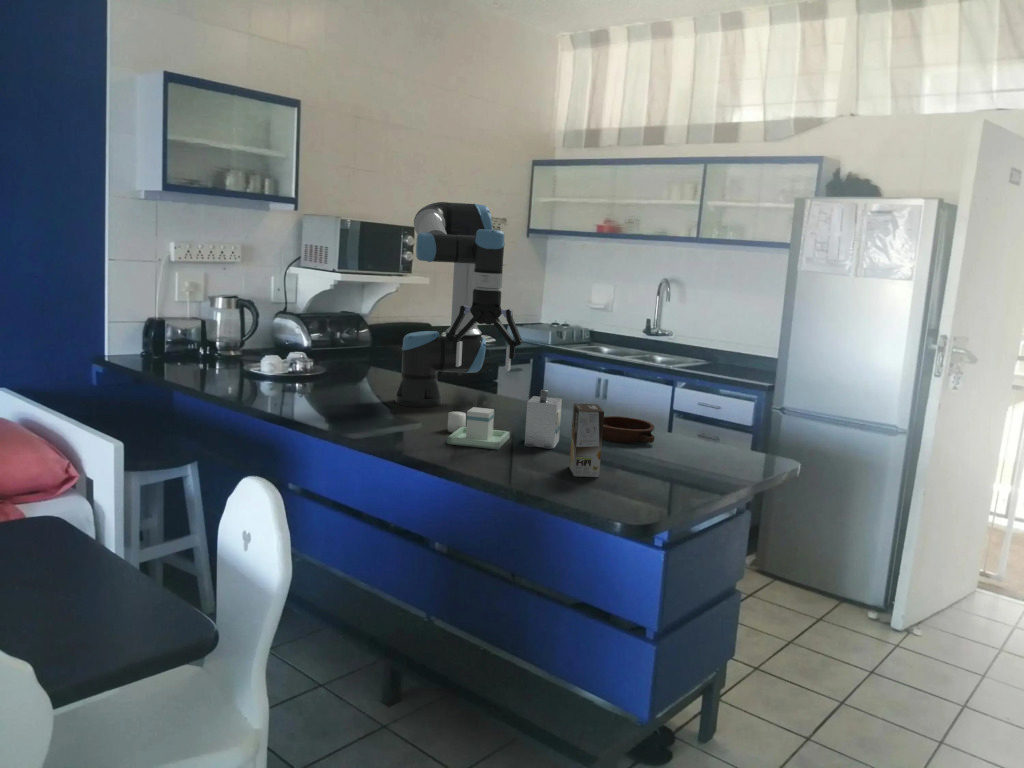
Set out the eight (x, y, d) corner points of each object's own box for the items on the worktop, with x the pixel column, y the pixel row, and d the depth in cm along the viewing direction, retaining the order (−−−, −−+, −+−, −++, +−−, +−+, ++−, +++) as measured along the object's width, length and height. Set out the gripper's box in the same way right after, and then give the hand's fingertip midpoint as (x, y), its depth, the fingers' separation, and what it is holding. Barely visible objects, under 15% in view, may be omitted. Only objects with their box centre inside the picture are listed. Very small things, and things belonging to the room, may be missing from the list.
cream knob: (445, 431, 234) (446, 414, 233) (450, 427, 239) (451, 410, 238) (462, 433, 233) (463, 416, 232) (467, 429, 238) (468, 412, 237)
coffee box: (600, 477, 197) (605, 411, 194) (573, 476, 196) (578, 410, 193) (593, 467, 206) (598, 403, 203) (567, 466, 205) (572, 402, 202)
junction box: (523, 446, 222) (527, 391, 220) (531, 437, 233) (534, 384, 230) (554, 449, 221) (558, 394, 218) (560, 440, 231) (564, 387, 229)
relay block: (465, 440, 223) (467, 411, 221) (471, 435, 229) (472, 407, 227) (487, 442, 222) (489, 413, 220) (492, 437, 228) (494, 409, 226)
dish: (632, 451, 225) (633, 433, 224) (572, 434, 240) (574, 417, 240) (671, 443, 236) (672, 426, 235) (612, 427, 252) (613, 411, 251)
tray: (447, 443, 220) (447, 437, 220) (461, 432, 233) (461, 426, 233) (498, 449, 217) (498, 442, 217) (509, 437, 231) (510, 431, 230)
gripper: (437, 286, 217) (434, 365, 221) (531, 293, 212) (525, 374, 216) (445, 284, 224) (442, 361, 228) (536, 291, 219) (531, 370, 223)
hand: (482, 368), depth 222 cm, fingers open, 13 cm apart
